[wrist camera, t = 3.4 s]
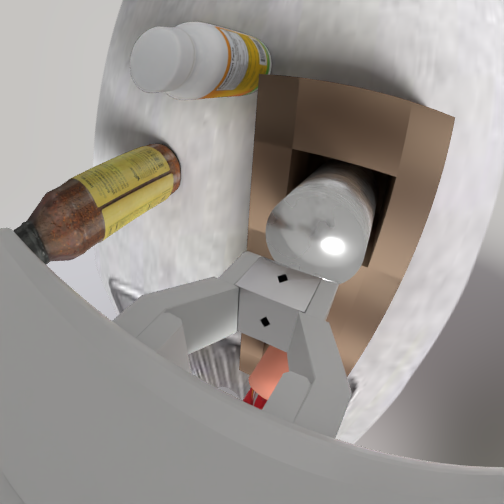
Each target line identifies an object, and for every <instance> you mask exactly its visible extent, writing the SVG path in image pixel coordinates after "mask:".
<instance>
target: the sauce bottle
mask: <svg viewBox="0 0 504 504" xmlns="http://www.w3.org/2000/svg"><path fill="white" fill-rule="evenodd" d="M180 179H181V175H180V165H179V162H178V160H177V158H176V156H175V155H174V154H173V152H172V151H171V150H170V149H169V148H168V147H166V146H164V145H163V144H149V145H147V146H142V147H139V148H137V149H134V150H132V151H129V152H127V153H124V154H122V155H120V156H117V157H115V158H113V159H111V160H108V161H106V162H104V163H102V164H100V165H97V166H95V167H93V168H91V169H89V170H87V171H85V172H83V173H81V174H79V175H77V176H75V177H73V178H71V179H69V180H68V181H67V182H66V183H64V184H62V185H61V186H60V187H58V188H56V189H54V190H52V191H49V192H48V193H46V194H45V196H44V197H43V198H42V200H41V202H40V203H39V204H38V206H37V207H36V209H35V210H34V211H33V213H32V214H31V216H30V217H29V219H28V220H27V221H26V222H23V223H22V225H21V226H20V227H18V228H17V229H15V230H14V232H15V234H16V235H17V236H18V237H19V238H20V239H21V240H22V241H23V242H24V243H25V244H26V245H27V247H28V248H29V249H30V250H31V251H32V252H33V253H34V254H35V255H36V256H37V257H38V258H39V259H40V260H41V261H42V262H43V263H44V264H45V265H46V264H47V263H49V262H50V261H64V260H71V259H74V258H76V257H78V256H80V255H82V254H84V253H85V252H86V251H87V250H88V249H90V248H91V247H92V246H94V245H95V244H97V243H99V242H101V241H103V240H104V239H106V238H107V237H109V236H110V235H112V234H113V233H114V232H116V231H117V230H119V229H120V228H122V227H123V226H125V225H126V224H128V223H129V222H131V221H132V220H134V219H135V218H137V217H139V216H140V215H142V214H143V213H145V212H147V211H148V210H150V209H151V208H153V207H155V206H156V205H158V204H160V203H161V202H163V201H165V200H166V199H167V198H168V197H169V196H170V195H171V194H172V193H174V192H175V190H177V189H178V187H179V185H180Z"/></svg>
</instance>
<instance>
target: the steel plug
mask: <svg viewBox="0 0 504 504" xmlns="http://www.w3.org/2000/svg"><path fill="white" fill-rule="evenodd" d="M378 194H379V188H378V182H377V179H376V177H375V175H374V173H373V172H372V170H371V169H369V168H366V167H363V166H359V165H356V164H352V163H349V162H345V161H341V160H337V159H334V158H331V159H329V160H327V161H326V162H325V163H323V164H322V165H321V166H320V167H319V168H318V169H317V170H315V171H314V172H313V173H312V174H311V175H310V176H309V177H308V178H306V179H305V180H304V181H303V182H302V183H301V184H300V185H299V186H297V187H296V188H295V189H294V190H293V191H292V192H291V193H290V194H288V195H287V196H286V197H285V198H284V199H283V200H282V201H281V202H280V203H278V204H277V205H276V206H275V207H274V209H273V210H272V212H271V213H270V215H269V217H268V220H267V224H266V233H265V234H266V242H267V246H268V249H269V251H270V254H271V256H272V257H273V259H274V260H275V261H276V262H279V263H281V264H284V265H287V266H289V267H292V268H294V269H297V270H300V271H303V272H305V273H308V274H311V275H314V276H317V277H320V278H324V279H327V280H330V281H334V282H337V283H338V284H342V283H344V282H346V281H347V280H349V279H350V278H352V277H353V276H354V275H355V274H356V273H357V271H358V270H359V268H360V267H361V265H362V263H363V260H364V256H365V252H366V249H367V245H368V240H369V236H370V232H371V228H372V223H373V219H374V214H375V209H376V205H377V200H378Z"/></svg>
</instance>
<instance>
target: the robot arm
mask: <svg viewBox="0 0 504 504" xmlns="http://www.w3.org/2000/svg"><path fill="white" fill-rule="evenodd" d="M338 286H339V284H338V283H337V282H334V281H330V280H327V279H324V278H320V277H317V276H314V275H311V274H308V273H305V272H303V271H300V270H297V269H294V268H292V267H289V266H287V265H284V264H281V263H279V262H276V261H273V260H271V259H268V258H266V257H263V256H260V255H257V254H255V253H252V252H249V251H246V252H244V253H243V254H242V255H241V256H240V257H239V258H238V259H237V260H236V261H235V262H234V263H233V264H232V265H231V266H230V267H229V268H228V269H227V270H226V271H225V272H224V273H223V274H222V275H221V276H220V277H219V278H216V277H211V278H207V279H203V280H199V281H195V282H192V283H188V284H184V285H180V286H176V287H172V288H168V289H165V290H161V291H157V292H153V293H149V294H145V295H142V296H141V297H139V298H138V299H137V300H136V301H135V302H133V303H132V304H131V305H130V306H129V307H128V308H126V309H125V310H124V311H123V312H122V313H121V314H119V315H118V316H117V317H116V318H115V319H114V320H113V321H111V320H110V319H109V318H107V317H106V316H105V315H103V314H102V313H101V312H100V311H98V310H97V309H96V308H95V307H93V306H92V305H91V304H89V303H88V302H87V301H86V300H85V299H83V298H82V297H81V296H80V295H79V294H78V293H76V292H75V291H74V290H73V289H72V288H70V287H69V286H68V285H67V284H66V283H65V282H64V281H63V280H62V279H60V278H59V277H58V276H57V275H56V274H55V273H54V272H53V271H52V270H51V269H50V268H49V267H48V266H47V265H45V264H44V263H43V262H42V261H41V260H40V259H39V258H38V257H37V256H36V255H35V254H34V253H33V252H32V251H31V250H30V249H29V248H28V247H27V245H26V244H25V243H24V242H23V241H22V240H21V239H20V238H19V237H18V236H17V235H16V234H15V232H14V231H13V230H12V229H10V228H1V229H0V504H504V467H475V466H461V465H452V464H443V463H436V462H429V461H423V460H417V459H411V458H407V457H402V456H397V455H392V454H388V453H384V452H380V451H376V450H372V449H368V448H365V447H361V446H358V445H354V444H351V443H347V442H344V441H341V440H338V439H335V438H336V435H337V432H338V430H339V427H340V425H341V422H342V419H343V417H344V414H345V411H346V408H347V405H348V403H349V400H350V397H351V394H352V392H351V389H350V386H349V382H348V379H347V376H346V373H345V369H344V366H343V363H342V360H341V357H340V354H339V351H338V348H337V345H336V342H335V339H334V336H333V333H332V330H331V327H330V324H329V322H326V319H327V316H328V314H329V311H330V308H331V305H332V303H333V300H334V297H335V294H336V291H337V289H338ZM237 331H238V332H241V333H243V334H246V335H248V336H250V337H253V338H255V339H258V340H260V341H262V342H265V343H267V344H269V345H271V346H273V347H275V348H278V349H280V350H282V351H284V352H287V359H288V367H289V372H286V373H283V375H282V377H281V378H280V380H279V382H278V384H277V385H276V387H275V389H274V390H273V392H272V394H271V396H270V397H269V399H268V401H267V402H266V404H265V405H264V407H263V409H262V410H261V409H259V408H257V407H254V406H252V405H250V404H248V403H246V402H244V401H242V400H240V399H238V398H236V397H234V396H232V395H230V394H228V393H226V392H224V391H222V390H220V389H218V388H216V387H215V386H213V385H211V384H209V383H207V382H205V381H204V380H202V379H200V378H198V377H196V376H195V375H193V374H191V373H192V371H191V366H190V361H189V356H188V354H190V353H192V352H195V351H197V350H199V349H201V348H204V347H206V346H208V345H210V344H213V343H215V342H217V341H219V340H221V339H223V338H226V337H228V336H230V335H232V334H234V333H236V332H237Z"/></svg>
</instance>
